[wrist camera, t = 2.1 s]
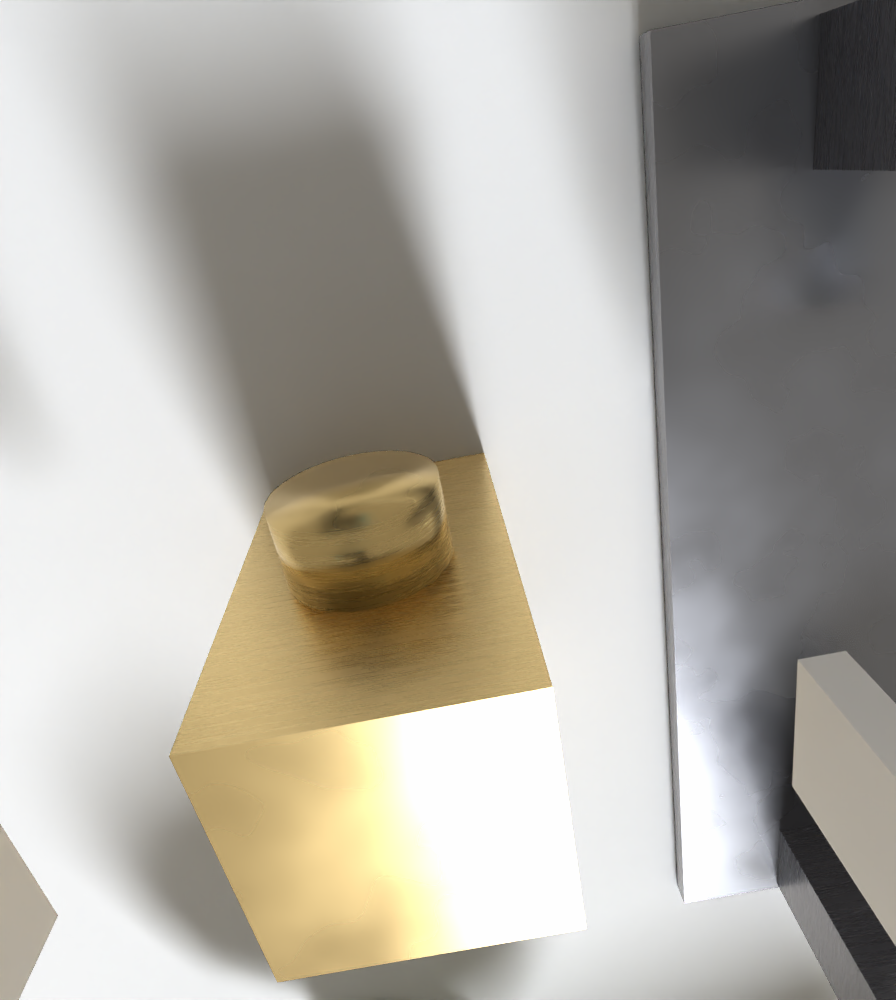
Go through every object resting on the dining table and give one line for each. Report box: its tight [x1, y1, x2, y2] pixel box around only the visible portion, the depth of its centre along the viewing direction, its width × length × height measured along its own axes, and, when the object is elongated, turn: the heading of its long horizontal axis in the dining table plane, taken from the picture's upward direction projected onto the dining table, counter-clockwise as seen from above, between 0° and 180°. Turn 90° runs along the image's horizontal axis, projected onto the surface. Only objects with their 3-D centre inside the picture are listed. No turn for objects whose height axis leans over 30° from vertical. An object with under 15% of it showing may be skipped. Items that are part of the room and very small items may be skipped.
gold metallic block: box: [169, 451, 586, 982], centre depth 14 cm, size 8×5×8 cm, turn 10°
